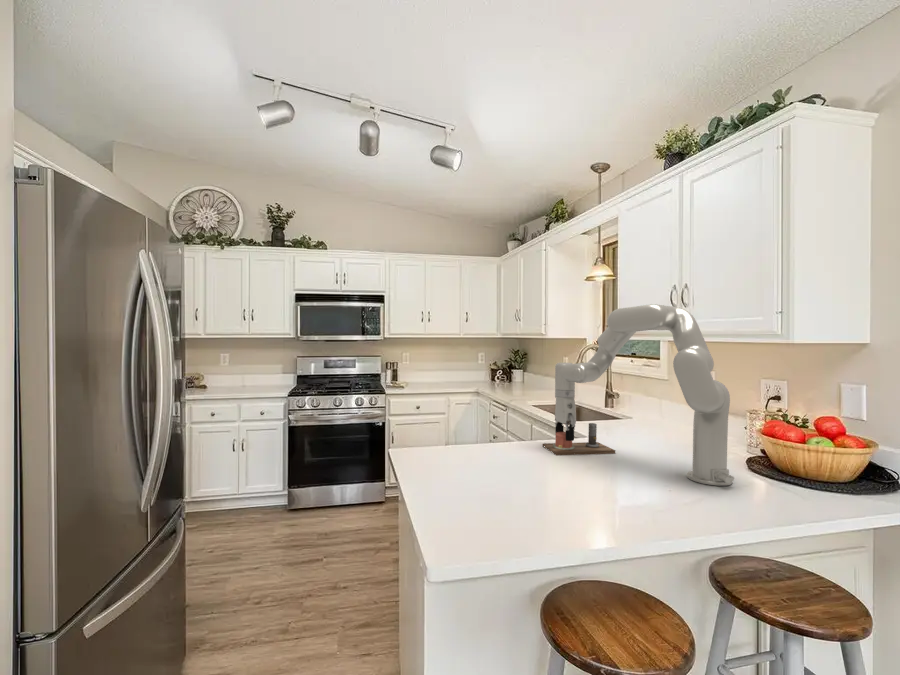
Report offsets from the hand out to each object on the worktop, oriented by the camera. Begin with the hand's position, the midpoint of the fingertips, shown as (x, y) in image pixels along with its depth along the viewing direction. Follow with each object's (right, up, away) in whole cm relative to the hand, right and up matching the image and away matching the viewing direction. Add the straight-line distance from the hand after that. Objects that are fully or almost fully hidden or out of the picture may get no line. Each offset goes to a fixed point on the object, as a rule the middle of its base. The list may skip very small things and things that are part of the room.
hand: (564, 437), depth 182 cm
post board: (+6, -5, +1) cm, 8 cm away
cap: (0, -3, 0) cm, 3 cm away
